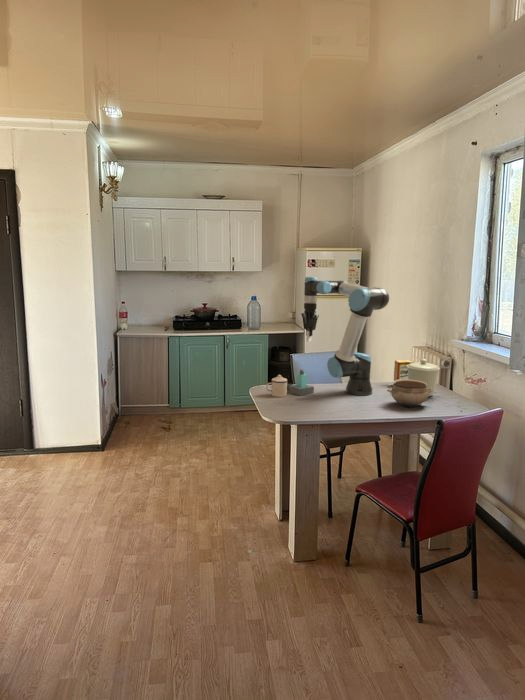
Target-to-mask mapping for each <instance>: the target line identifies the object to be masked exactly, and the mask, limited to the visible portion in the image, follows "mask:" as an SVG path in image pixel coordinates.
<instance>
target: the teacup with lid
mask: <svg viewBox="0 0 525 700" xmlns="http://www.w3.org/2000/svg"><path fill="white" fill-rule="evenodd" d="M270 381H271V382H268V383H266V385H265V388H266V390H267V391H268V392H270V393H271V396H272V397H276V398H284V397H286V396H287V395H288V391H287V384H288V379H287V378H285V377H283V376H282V375H281V374H278V375H277V376H276V377H273V378H272V379H271V380H270ZM269 385H271V389H269V387H268V386H269Z"/></svg>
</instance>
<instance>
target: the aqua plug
mask: <svg viewBox="0 0 525 700" xmlns="http://www.w3.org/2000/svg"><path fill="white" fill-rule="evenodd" d="M307 376H308V375H307V373H305V369H299V373H297V374H296V384H297V387H300V388H303V387H306V385H308V384H307V382H308V381H307V380H308V377H307Z"/></svg>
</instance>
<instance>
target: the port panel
mask: <svg viewBox="0 0 525 700" xmlns="http://www.w3.org/2000/svg"><path fill="white" fill-rule="evenodd" d="M314 389H315V387H314V385H309V384H306V387H303V388H300V387H297V383H296V384H294V385H290V386H289V391H288V393H290V394H293V395H295V396H300V397H303V396H308V395H312V394H314V393H315V390H314Z"/></svg>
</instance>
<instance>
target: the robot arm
mask: <svg viewBox="0 0 525 700" xmlns="http://www.w3.org/2000/svg"><path fill="white" fill-rule="evenodd" d="M303 290H304V291H303V292H304V297H303V298H304V299H303V300H304V301H303V302H304V303H303V309H304V312H303V313H301V314H300V315H301V319H302V325H303V329H304V330H305V331H306V332H305V335H306V342H312V341H313V340H312V337H313V332H314V331H315V330H316V328H317V322H318V319H319V316H320V315H319V314H317V312H316V309H317V302H318V294H320V295H327V294H328V295H329V294H336V295H341V296H346V297H348V301H347V302H348V307H349V311H350V312H351V314H350V316H349V319H348V322H347V326H346V328H345V331H344V335H343V337H342V339H341V343H340V346H339V349H337V350H335V352H334V355H333V356H331V357H329V358H328V360H327V362H326V363H327V371H328V373H329V374H330V376H331V377H332V378H339V379H340V378H347V377H349V379H348V382H347V384H346V387H345V392H346V393H347V394H348V395H353V396H370V395H372V394H373V387H372V384H371V383H372V382H371V369H372V367H371V366H372V359H371V358H372V357H371V355H369V354H367V353H362V352H358V351H357V347H358V345H359V342H360V338H361V336H362V334H363V331H364V328H365V325H366V322H367V319H368V318H370V317H371V316H372V313H373V312H374V311H378V310H382V309H385V308H386V306H387V305H389V302H390V295H389V292H388V291H387V290H386V289H384V288H382V287H369V286H368V287H367V286H363V285H359V284H355V283H350V282H347V281H345V280H318V277H317V276H306V277H305V278H304V289H303ZM356 351H357V352H356Z"/></svg>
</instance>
